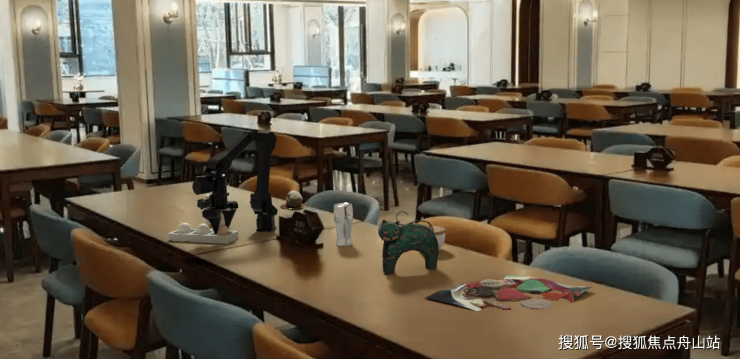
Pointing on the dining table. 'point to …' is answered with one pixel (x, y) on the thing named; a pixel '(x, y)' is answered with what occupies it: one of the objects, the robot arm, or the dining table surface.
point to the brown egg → (222, 230)
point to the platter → (507, 293)
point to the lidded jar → (439, 234)
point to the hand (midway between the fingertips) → (221, 231)
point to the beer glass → (343, 223)
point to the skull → (293, 201)
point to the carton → (200, 234)
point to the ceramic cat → (407, 243)
